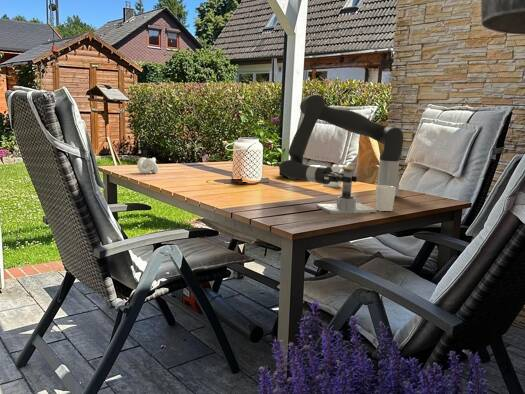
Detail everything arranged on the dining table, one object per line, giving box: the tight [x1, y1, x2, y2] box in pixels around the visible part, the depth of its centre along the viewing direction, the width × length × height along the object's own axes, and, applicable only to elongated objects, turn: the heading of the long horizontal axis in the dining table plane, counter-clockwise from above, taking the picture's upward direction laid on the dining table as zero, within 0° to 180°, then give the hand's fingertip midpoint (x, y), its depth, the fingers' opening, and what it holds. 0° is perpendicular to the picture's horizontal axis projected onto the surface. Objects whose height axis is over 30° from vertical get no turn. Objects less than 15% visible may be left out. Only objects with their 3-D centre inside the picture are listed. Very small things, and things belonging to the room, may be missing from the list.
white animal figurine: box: [137, 157, 159, 175], centre depth 285 cm, size 11×12×9 cm
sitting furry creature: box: [322, 164, 343, 188], centre depth 261 cm, size 10×9×12 cm
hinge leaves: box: [316, 195, 377, 215], centre depth 202 cm, size 20×14×5 cm
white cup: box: [375, 184, 396, 212], centre depth 203 cm, size 8×8×10 cm
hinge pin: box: [341, 165, 355, 197], centre depth 200 cm, size 5×5×12 cm
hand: (353, 179), depth 198 cm, fingers closed on hinge pin, 3 cm apart
